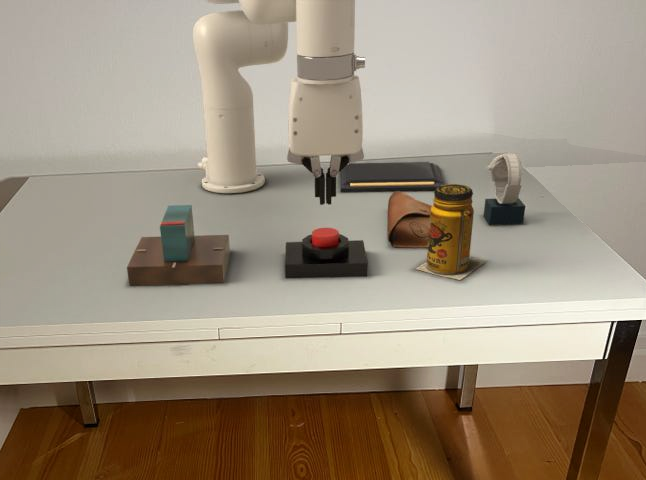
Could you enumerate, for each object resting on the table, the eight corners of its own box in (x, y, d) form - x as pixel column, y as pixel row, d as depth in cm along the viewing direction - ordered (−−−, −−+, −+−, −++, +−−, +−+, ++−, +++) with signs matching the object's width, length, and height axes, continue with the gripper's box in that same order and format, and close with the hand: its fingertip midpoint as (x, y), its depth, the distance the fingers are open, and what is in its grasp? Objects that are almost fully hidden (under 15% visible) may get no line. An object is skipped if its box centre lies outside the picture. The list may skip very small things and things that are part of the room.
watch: (513, 211, 131) (521, 147, 125) (525, 227, 124) (535, 161, 118) (480, 212, 131) (487, 149, 126) (491, 229, 124) (499, 162, 119)
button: (312, 248, 111) (312, 237, 110) (311, 238, 115) (311, 227, 114) (339, 248, 111) (339, 236, 110) (338, 238, 114) (338, 227, 113)
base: (128, 287, 111) (125, 267, 109) (144, 252, 122) (142, 234, 121) (223, 285, 110) (221, 265, 108) (230, 250, 121) (229, 232, 120)
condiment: (414, 270, 112) (419, 191, 106) (442, 251, 117) (449, 175, 111) (459, 281, 107) (467, 200, 101) (486, 262, 113) (495, 183, 107)
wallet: (439, 159, 154) (446, 181, 141) (438, 168, 155) (445, 191, 142) (340, 160, 156) (338, 182, 143) (340, 169, 157) (338, 192, 144)
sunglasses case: (443, 245, 118) (423, 210, 115) (402, 266, 120) (382, 232, 118) (436, 207, 133) (418, 175, 131) (400, 226, 136) (382, 195, 133)
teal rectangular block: (172, 239, 119) (168, 204, 116) (194, 238, 118) (191, 203, 115) (163, 261, 111) (159, 224, 108) (188, 261, 111) (184, 223, 108)
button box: (285, 278, 111) (284, 253, 109) (286, 255, 119) (285, 231, 117) (367, 276, 110) (368, 251, 108) (362, 253, 118) (363, 228, 116)
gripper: (379, 60, 103) (375, 192, 112) (270, 65, 104) (274, 195, 113) (385, 70, 96) (379, 208, 106) (268, 75, 97) (273, 211, 107)
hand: (325, 201), depth 109 cm, fingers closed
